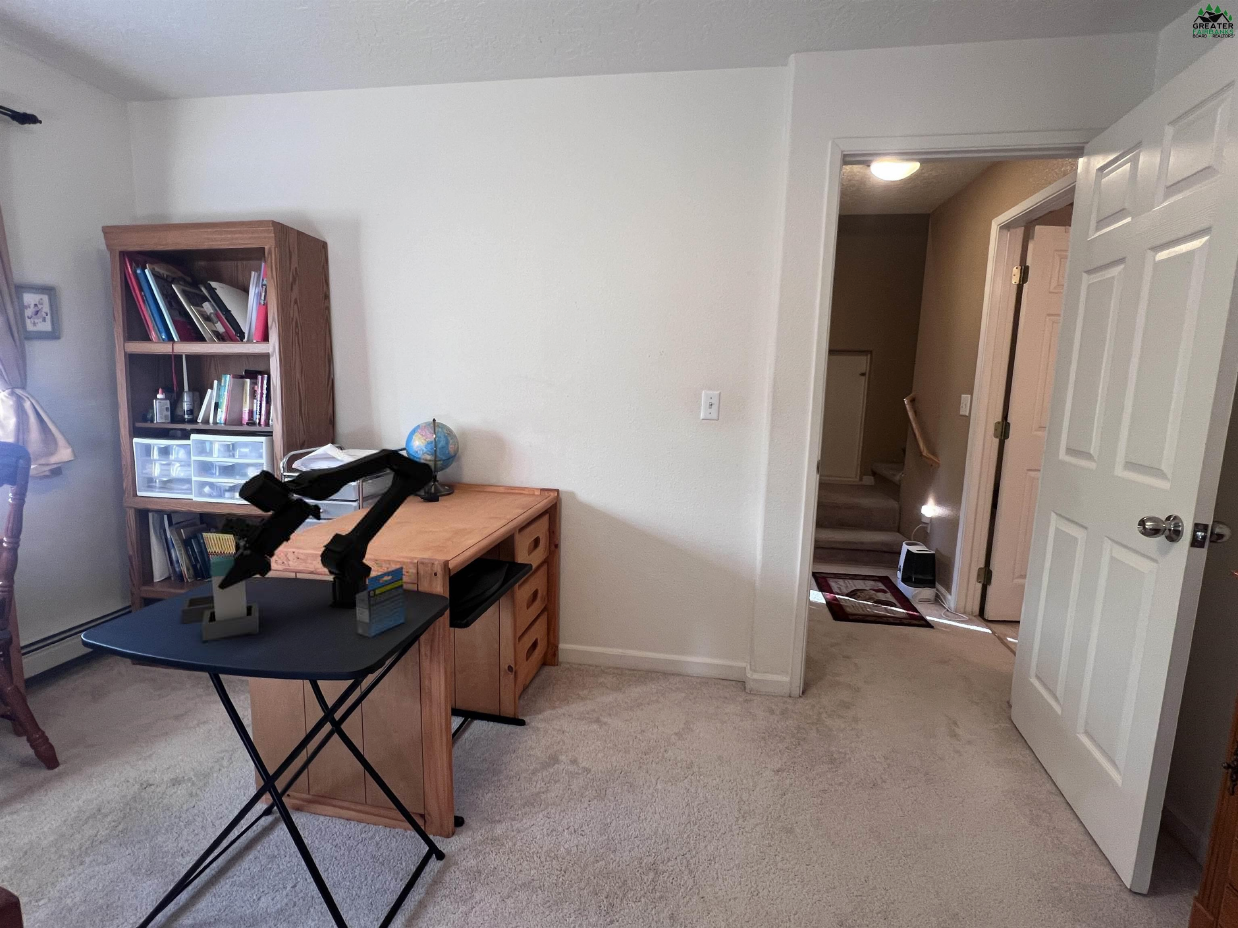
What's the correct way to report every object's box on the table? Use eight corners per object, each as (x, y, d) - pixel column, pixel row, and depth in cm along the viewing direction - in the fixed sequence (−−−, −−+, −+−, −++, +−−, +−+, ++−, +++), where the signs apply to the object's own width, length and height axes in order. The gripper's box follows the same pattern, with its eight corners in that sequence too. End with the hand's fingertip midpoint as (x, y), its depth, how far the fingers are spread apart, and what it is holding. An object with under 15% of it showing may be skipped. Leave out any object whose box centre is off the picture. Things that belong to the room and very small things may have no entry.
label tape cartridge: (392, 618, 123) (390, 562, 122) (405, 622, 122) (404, 565, 120) (356, 633, 115) (354, 574, 114) (370, 638, 114) (367, 578, 112)
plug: (246, 609, 118) (242, 552, 116) (246, 616, 115) (241, 558, 113) (217, 614, 116) (211, 556, 114) (215, 621, 112) (210, 562, 110)
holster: (231, 604, 128) (231, 591, 128) (230, 616, 122) (229, 602, 122) (186, 611, 124) (185, 598, 123) (182, 623, 118) (181, 609, 117)
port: (258, 618, 121) (257, 602, 121) (258, 633, 115) (257, 616, 114) (206, 627, 117) (204, 610, 116) (203, 642, 110) (201, 625, 109)
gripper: (247, 490, 122) (186, 548, 117) (245, 508, 106) (176, 575, 102) (292, 522, 127) (236, 579, 123) (297, 544, 111) (233, 609, 107)
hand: (220, 584), depth 113 cm, fingers closed on plug, 4 cm apart
